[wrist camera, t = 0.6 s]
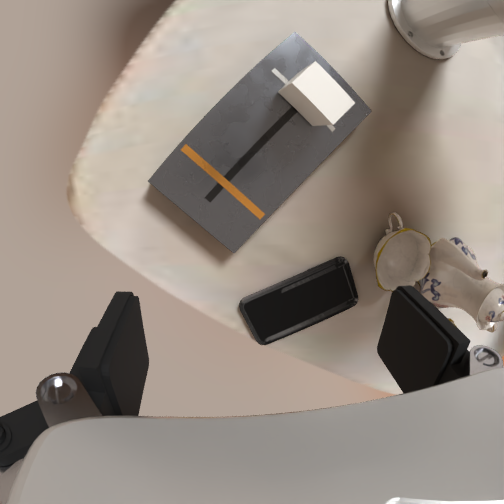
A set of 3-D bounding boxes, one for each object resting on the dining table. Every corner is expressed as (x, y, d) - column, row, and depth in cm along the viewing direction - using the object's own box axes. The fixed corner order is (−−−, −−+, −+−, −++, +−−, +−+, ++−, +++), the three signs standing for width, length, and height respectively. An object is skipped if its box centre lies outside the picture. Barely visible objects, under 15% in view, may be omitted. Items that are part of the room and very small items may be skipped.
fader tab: (297, 73, 28) (315, 60, 23) (331, 107, 30) (355, 102, 24) (277, 91, 29) (291, 82, 23) (312, 126, 30) (333, 124, 25)
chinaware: (334, 242, 41) (381, 318, 26) (427, 167, 37) (511, 205, 21) (412, 350, 50) (450, 418, 35) (480, 294, 46) (532, 349, 31)
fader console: (288, 39, 29) (295, 31, 27) (360, 112, 33) (371, 111, 30) (153, 177, 33) (147, 181, 31) (232, 244, 37) (234, 253, 34)
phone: (359, 303, 42) (259, 347, 42) (356, 299, 43) (258, 342, 43) (346, 255, 39) (236, 303, 39) (343, 251, 40) (235, 298, 40)
